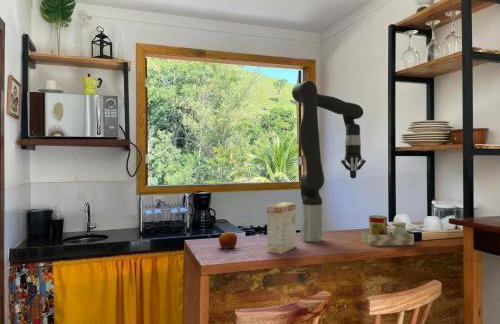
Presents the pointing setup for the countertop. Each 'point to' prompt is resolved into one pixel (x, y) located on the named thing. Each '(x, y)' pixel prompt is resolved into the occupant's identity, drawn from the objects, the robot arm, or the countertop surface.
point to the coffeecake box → (281, 227)
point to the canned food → (377, 225)
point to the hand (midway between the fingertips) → (353, 178)
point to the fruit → (228, 240)
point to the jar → (399, 228)
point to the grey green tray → (388, 239)
